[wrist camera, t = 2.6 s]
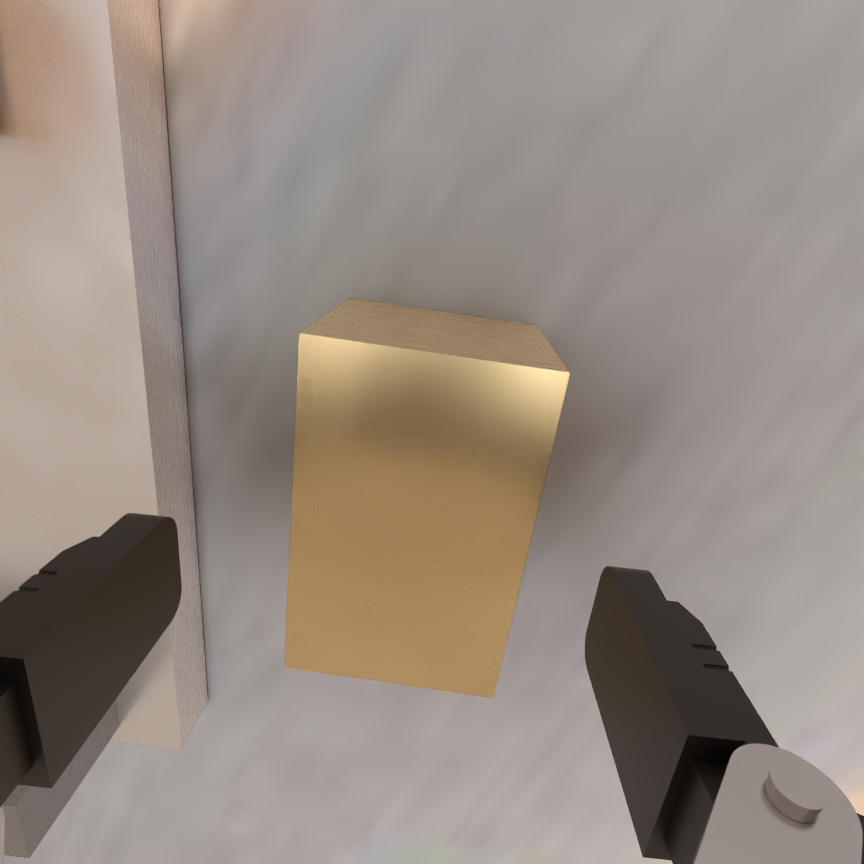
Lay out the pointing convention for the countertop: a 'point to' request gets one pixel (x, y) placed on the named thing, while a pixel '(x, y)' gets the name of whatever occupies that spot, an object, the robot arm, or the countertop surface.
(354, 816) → the countertop surface
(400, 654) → the block
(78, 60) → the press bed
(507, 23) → the countertop surface
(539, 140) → the countertop surface
